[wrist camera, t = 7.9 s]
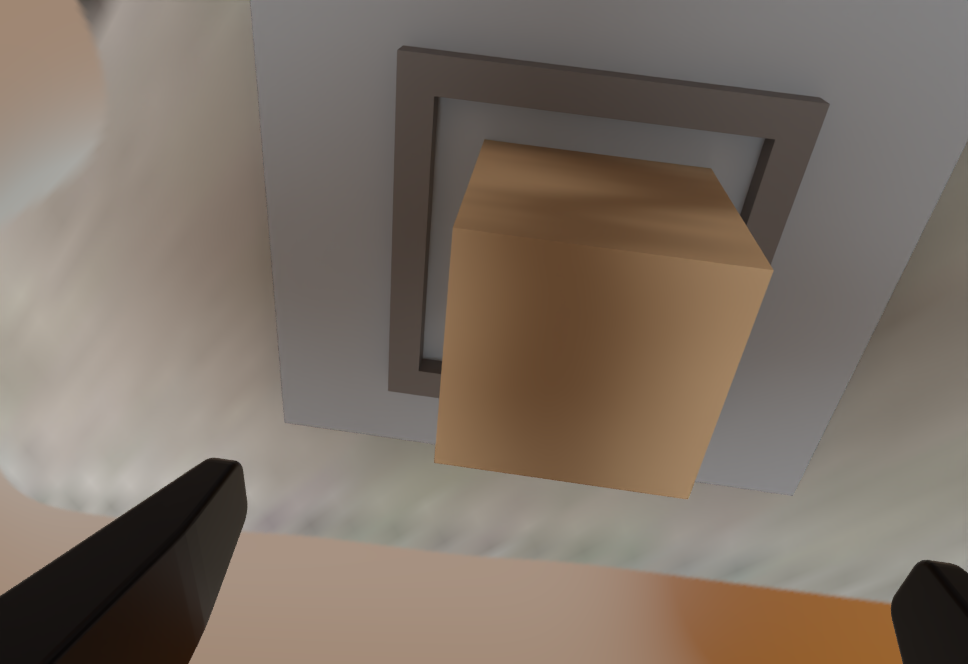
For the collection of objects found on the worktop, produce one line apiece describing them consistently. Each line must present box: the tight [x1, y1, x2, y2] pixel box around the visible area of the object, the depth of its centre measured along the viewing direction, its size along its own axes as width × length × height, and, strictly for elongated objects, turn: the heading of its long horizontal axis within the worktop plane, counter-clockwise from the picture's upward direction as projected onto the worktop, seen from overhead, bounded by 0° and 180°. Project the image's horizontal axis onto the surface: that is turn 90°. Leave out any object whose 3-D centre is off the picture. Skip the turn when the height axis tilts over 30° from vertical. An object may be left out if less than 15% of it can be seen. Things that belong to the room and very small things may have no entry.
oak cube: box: [434, 139, 774, 499], centre depth 14 cm, size 5×5×5 cm
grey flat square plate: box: [250, 0, 968, 496], centre depth 16 cm, size 15×13×1 cm
